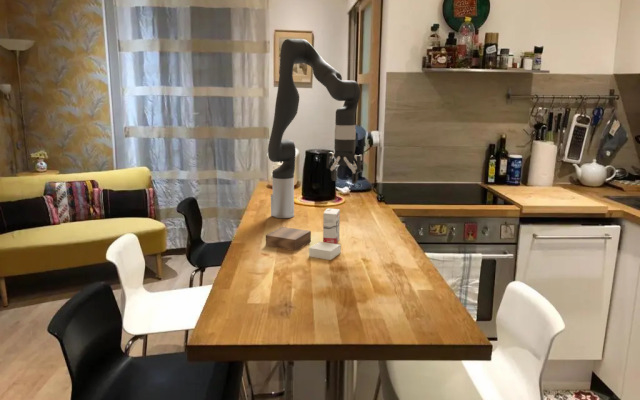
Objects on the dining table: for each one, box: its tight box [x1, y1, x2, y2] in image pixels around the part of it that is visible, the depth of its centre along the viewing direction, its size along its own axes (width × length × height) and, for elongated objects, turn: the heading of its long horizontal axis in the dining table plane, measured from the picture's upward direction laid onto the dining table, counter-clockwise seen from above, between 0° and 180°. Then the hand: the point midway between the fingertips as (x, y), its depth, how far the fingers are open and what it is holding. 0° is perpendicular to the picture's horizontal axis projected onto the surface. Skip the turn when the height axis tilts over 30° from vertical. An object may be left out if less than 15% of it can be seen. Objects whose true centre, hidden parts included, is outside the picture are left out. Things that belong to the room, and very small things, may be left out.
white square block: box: [308, 241, 342, 261], centre depth 176 cm, size 8×8×3 cm
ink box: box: [322, 207, 341, 244], centre depth 189 cm, size 9×5×12 cm, turn 168°
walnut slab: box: [265, 226, 312, 251], centre depth 187 cm, size 12×12×4 cm
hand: (344, 181), depth 189 cm, fingers open, 8 cm apart
